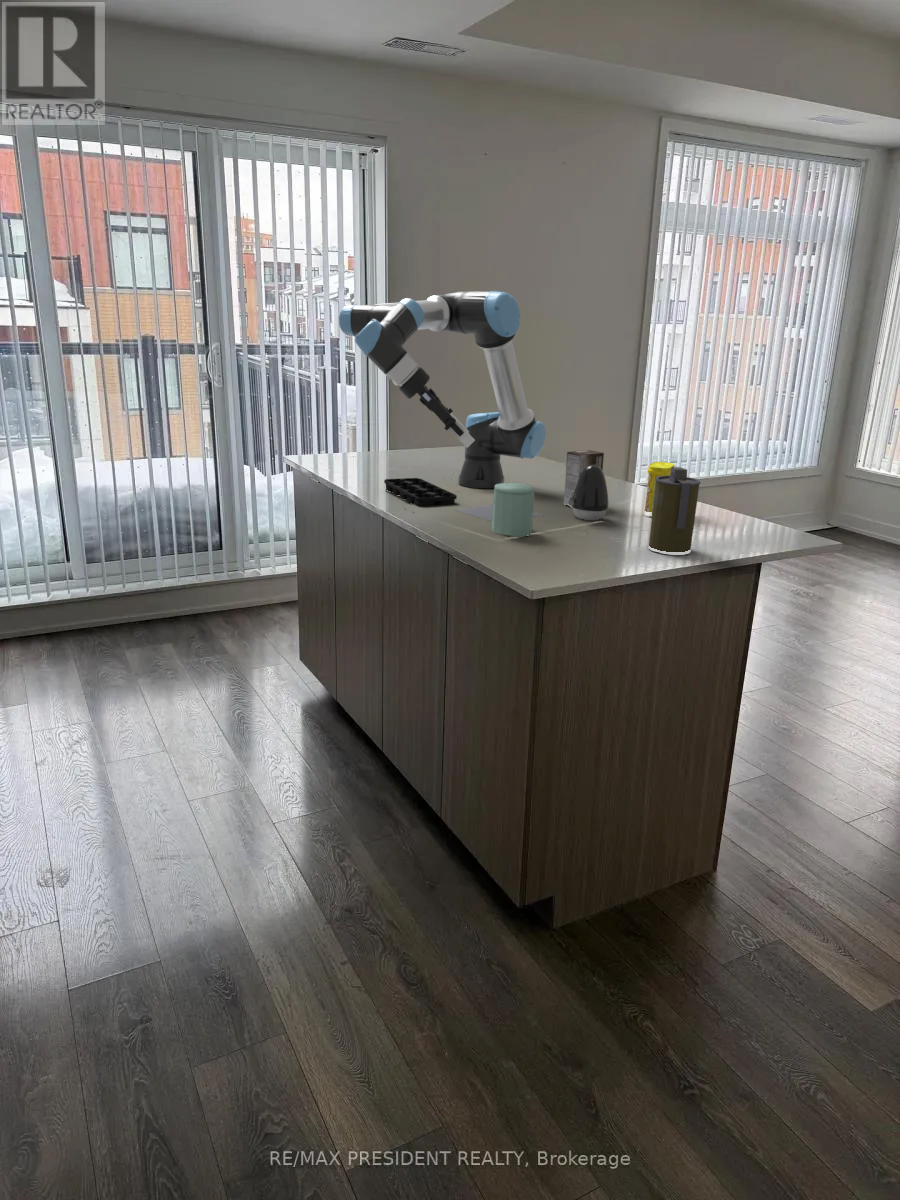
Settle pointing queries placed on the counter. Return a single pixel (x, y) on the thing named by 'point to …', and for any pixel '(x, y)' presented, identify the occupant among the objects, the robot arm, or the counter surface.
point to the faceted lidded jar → (513, 509)
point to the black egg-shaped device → (590, 494)
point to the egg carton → (419, 492)
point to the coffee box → (579, 469)
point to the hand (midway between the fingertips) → (468, 439)
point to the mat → (485, 512)
